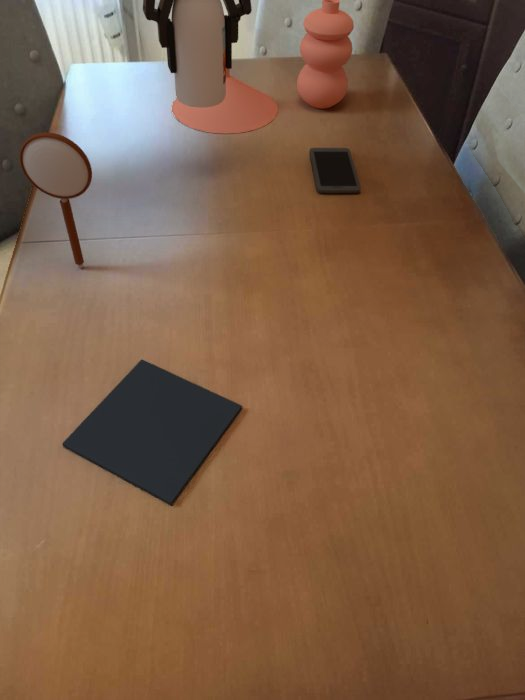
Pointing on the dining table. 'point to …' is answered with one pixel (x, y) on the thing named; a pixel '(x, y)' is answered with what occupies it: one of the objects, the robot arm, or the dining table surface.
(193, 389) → the mat
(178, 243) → the dining table surface
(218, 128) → the ceramic vessels
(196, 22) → the milk bottle
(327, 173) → the cell phone
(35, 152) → the magnifying glass
